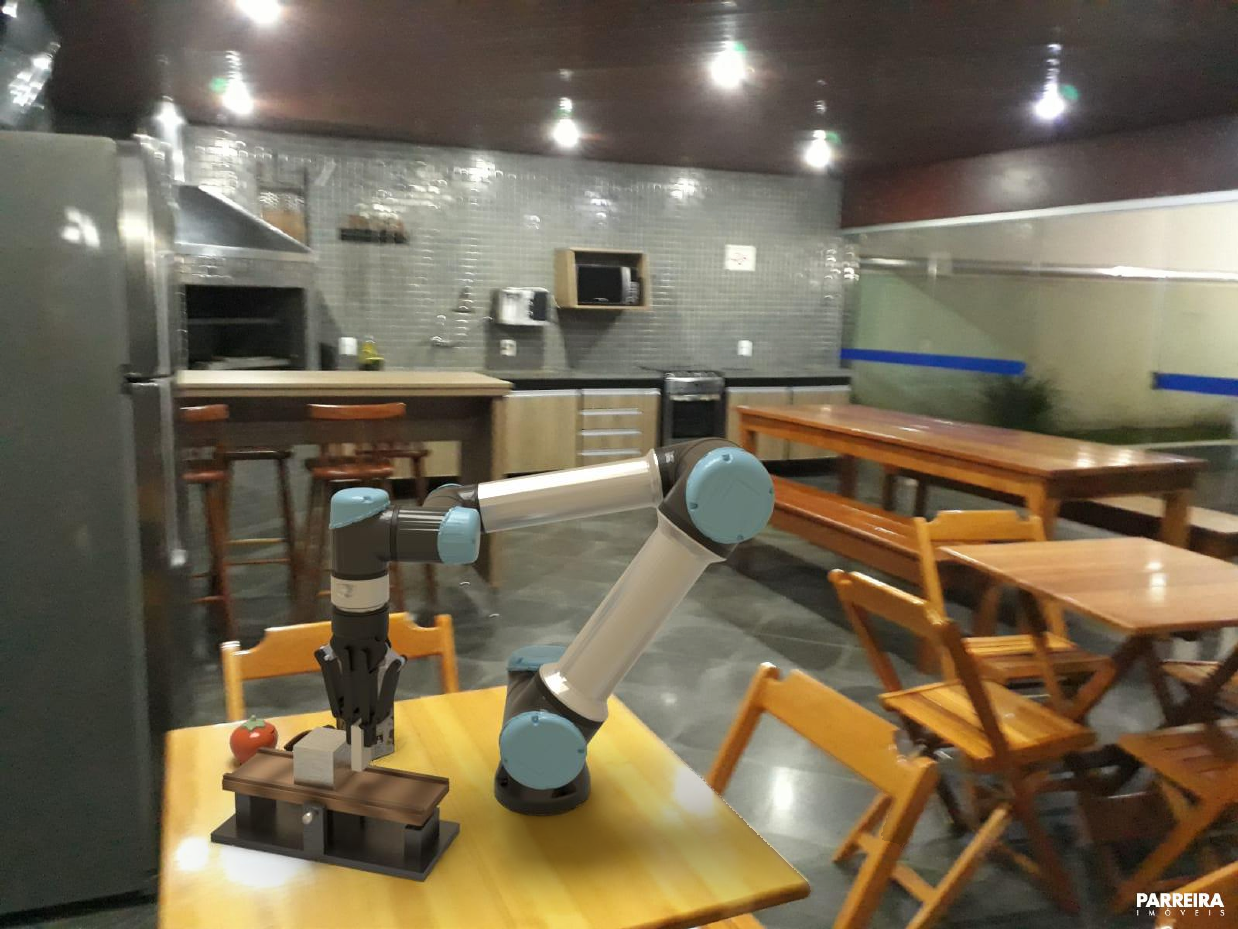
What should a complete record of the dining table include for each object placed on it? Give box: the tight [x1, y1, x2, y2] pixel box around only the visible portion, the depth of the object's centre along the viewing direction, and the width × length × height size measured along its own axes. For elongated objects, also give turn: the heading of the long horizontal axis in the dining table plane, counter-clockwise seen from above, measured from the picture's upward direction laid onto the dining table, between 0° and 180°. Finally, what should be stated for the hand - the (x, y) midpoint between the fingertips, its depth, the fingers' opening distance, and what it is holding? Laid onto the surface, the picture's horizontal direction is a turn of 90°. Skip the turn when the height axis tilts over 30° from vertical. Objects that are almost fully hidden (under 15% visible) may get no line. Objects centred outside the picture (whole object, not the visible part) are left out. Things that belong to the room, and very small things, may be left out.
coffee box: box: [335, 656, 395, 761], centre depth 147 cm, size 9×6×16 cm
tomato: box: [229, 714, 279, 765], centre depth 142 cm, size 7×7×8 cm
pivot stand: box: [210, 792, 461, 883], centre depth 122 cm, size 32×15×8 cm, turn 77°
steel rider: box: [292, 726, 356, 792], centre depth 121 cm, size 6×6×6 cm
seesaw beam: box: [221, 747, 450, 826], centre depth 122 cm, size 30×9×2 cm, turn 77°
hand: (361, 766), depth 120 cm, fingers closed
